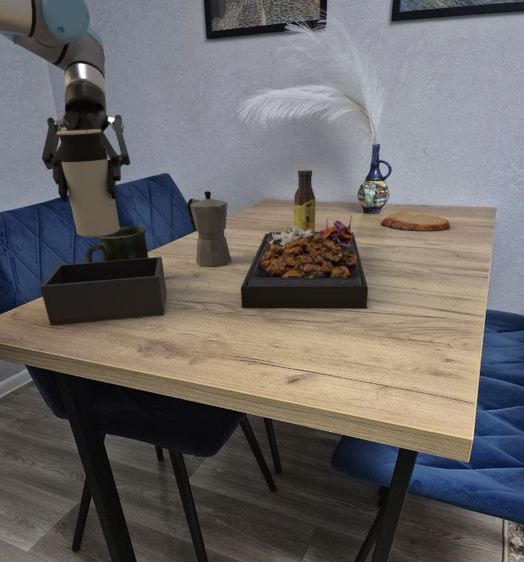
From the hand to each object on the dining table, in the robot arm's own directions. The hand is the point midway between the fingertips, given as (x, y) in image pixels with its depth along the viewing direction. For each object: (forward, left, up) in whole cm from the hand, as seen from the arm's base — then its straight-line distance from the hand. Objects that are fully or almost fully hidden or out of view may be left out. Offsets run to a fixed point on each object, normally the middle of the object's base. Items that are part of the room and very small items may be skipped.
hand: (87, 195), depth 85 cm
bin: (0, +4, -23) cm, 23 cm away
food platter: (+44, +15, -23) cm, 52 cm away
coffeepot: (+22, +32, -23) cm, 45 cm away
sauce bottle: (+51, +47, -23) cm, 73 cm away
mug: (0, +19, -23) cm, 29 cm away
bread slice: (+89, +54, -23) cm, 106 cm away
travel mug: (0, +3, -8) cm, 8 cm away
